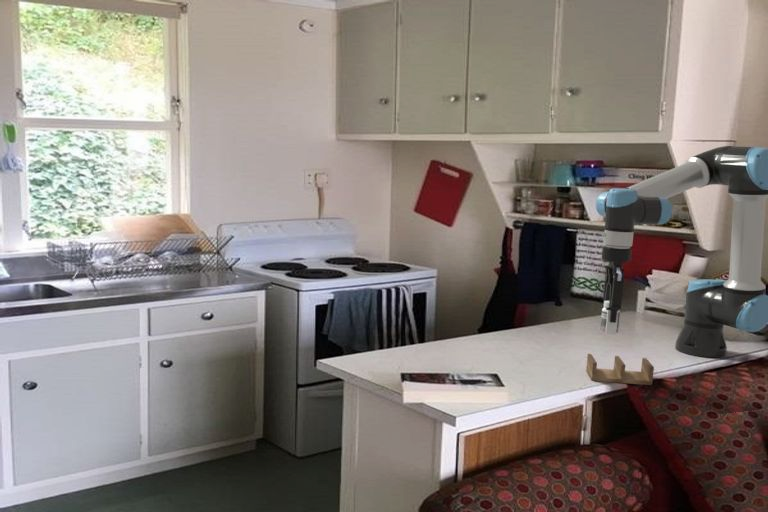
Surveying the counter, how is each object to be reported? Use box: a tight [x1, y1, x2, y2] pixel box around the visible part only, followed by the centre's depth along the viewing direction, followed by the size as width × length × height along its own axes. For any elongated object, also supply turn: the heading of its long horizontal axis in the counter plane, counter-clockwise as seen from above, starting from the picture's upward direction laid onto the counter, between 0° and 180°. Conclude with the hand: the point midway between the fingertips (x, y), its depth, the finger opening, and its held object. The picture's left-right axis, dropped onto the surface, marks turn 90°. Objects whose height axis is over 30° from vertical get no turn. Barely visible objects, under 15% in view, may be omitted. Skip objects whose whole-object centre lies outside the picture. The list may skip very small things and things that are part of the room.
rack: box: [585, 353, 655, 386], centre depth 222 cm, size 16×9×5 cm, turn 85°
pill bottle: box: [599, 301, 621, 334], centre depth 220 cm, size 5×5×8 cm
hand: (608, 331), depth 220 cm, fingers closed on pill bottle, 5 cm apart
